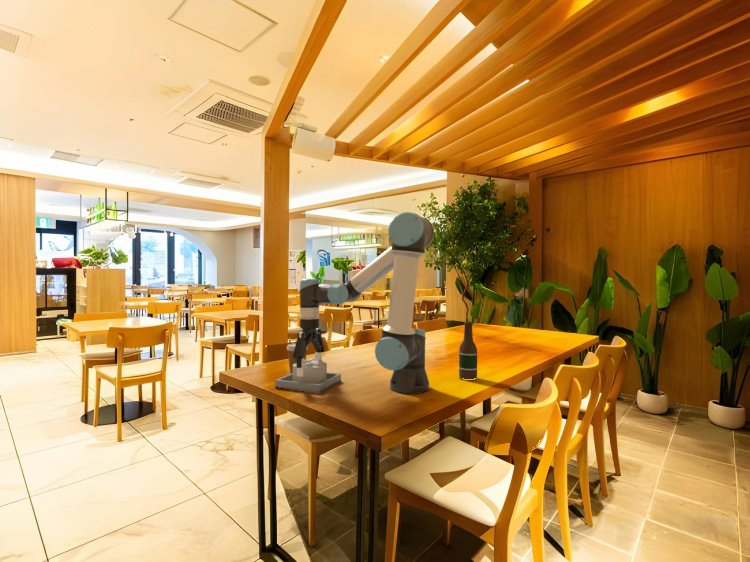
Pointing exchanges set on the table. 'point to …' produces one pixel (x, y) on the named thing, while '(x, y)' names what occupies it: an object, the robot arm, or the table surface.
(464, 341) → the beer bottle
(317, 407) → the table surface
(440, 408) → the table surface
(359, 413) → the table surface
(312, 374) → the lumpy-topped squat cylinder
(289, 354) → the disposable coffee cup
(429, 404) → the table surface
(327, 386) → the charcoal tray
